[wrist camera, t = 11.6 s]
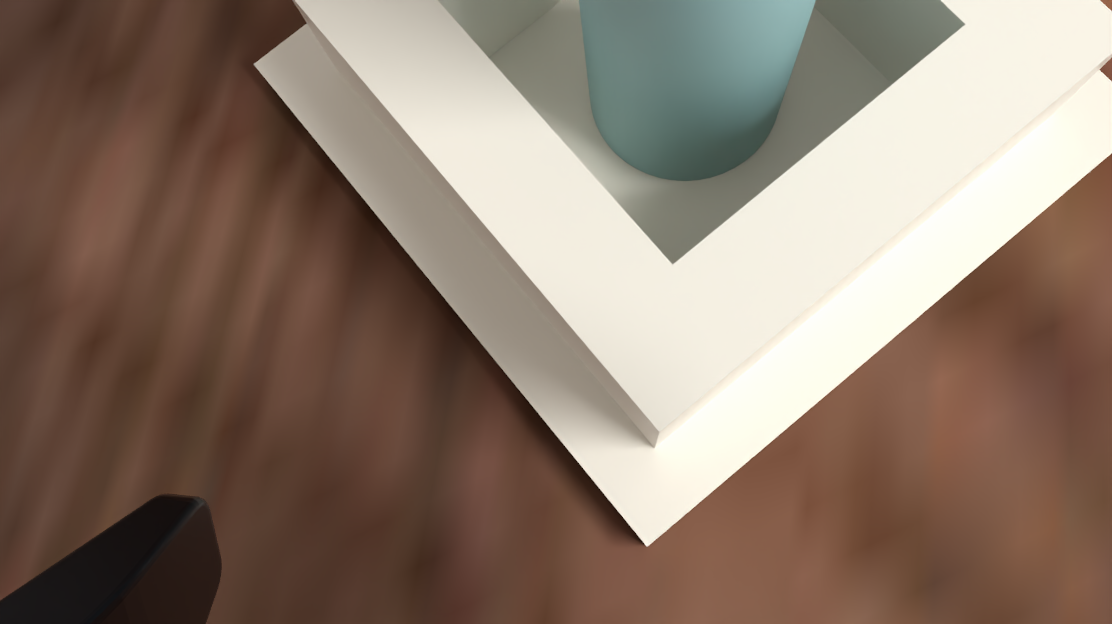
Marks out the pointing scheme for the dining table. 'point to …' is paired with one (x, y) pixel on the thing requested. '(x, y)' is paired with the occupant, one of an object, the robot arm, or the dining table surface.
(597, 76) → the blue cylinder
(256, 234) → the dining table surface
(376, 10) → the socket
